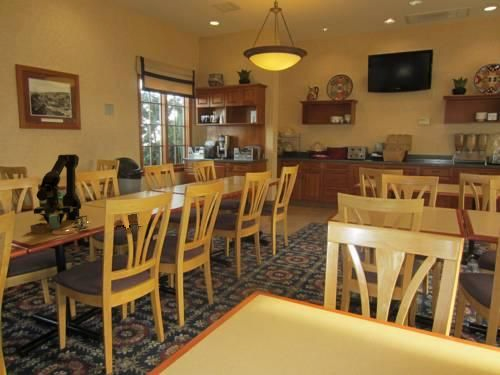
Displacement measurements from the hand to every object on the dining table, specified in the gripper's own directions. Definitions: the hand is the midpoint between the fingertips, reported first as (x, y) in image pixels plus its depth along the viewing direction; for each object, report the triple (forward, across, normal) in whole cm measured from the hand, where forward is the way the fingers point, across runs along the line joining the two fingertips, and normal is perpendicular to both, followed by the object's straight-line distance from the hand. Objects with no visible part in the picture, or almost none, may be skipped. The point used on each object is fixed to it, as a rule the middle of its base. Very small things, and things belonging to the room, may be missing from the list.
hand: (54, 224), depth 209 cm
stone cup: (+2, +40, 0) cm, 40 cm away
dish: (+2, +8, -11) cm, 13 cm away
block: (+2, 0, 0) cm, 2 cm away
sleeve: (+2, -4, -8) cm, 10 cm away
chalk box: (+2, -9, +36) cm, 37 cm away
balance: (+2, +15, -2) cm, 15 cm away
